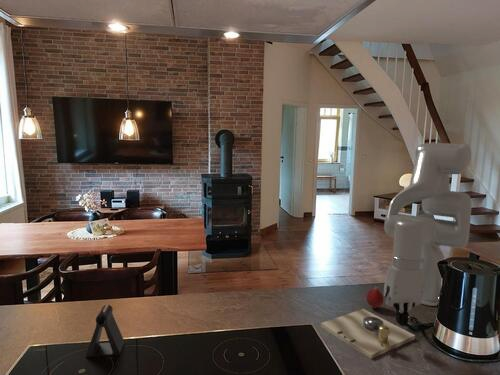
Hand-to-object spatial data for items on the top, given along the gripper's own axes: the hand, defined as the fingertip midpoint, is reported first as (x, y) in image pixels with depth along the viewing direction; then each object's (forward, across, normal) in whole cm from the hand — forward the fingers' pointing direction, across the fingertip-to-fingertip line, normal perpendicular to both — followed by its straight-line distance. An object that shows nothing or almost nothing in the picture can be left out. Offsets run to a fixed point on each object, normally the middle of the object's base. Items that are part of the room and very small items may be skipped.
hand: (401, 323), depth 102 cm
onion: (+7, -5, -24) cm, 25 cm away
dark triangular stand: (+9, +84, -10) cm, 85 cm away
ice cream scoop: (+6, +4, -5) cm, 9 cm away
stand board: (+7, +6, -9) cm, 13 cm away
